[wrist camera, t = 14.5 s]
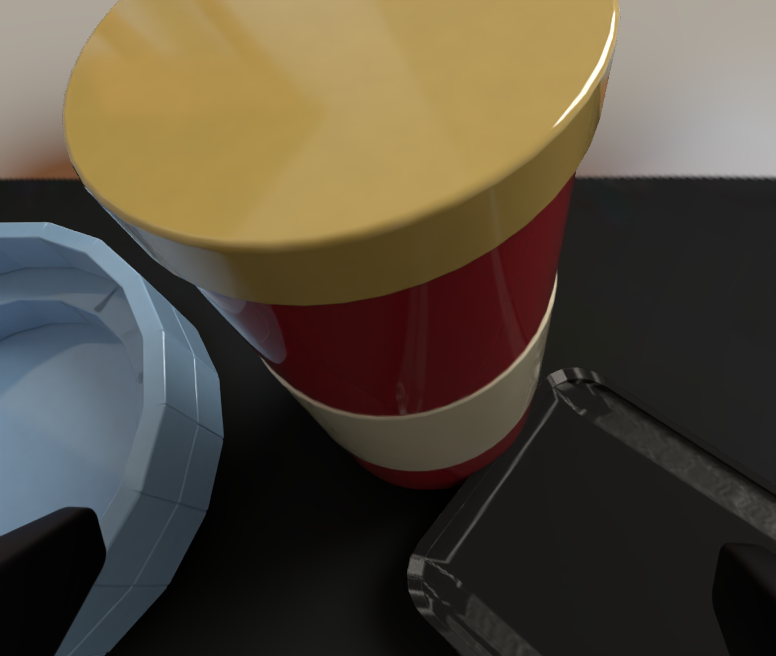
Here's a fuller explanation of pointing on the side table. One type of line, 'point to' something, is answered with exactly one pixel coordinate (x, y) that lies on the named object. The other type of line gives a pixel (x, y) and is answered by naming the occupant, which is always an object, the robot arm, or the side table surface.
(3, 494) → the bowl
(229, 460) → the side table surface
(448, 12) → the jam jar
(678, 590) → the phone
